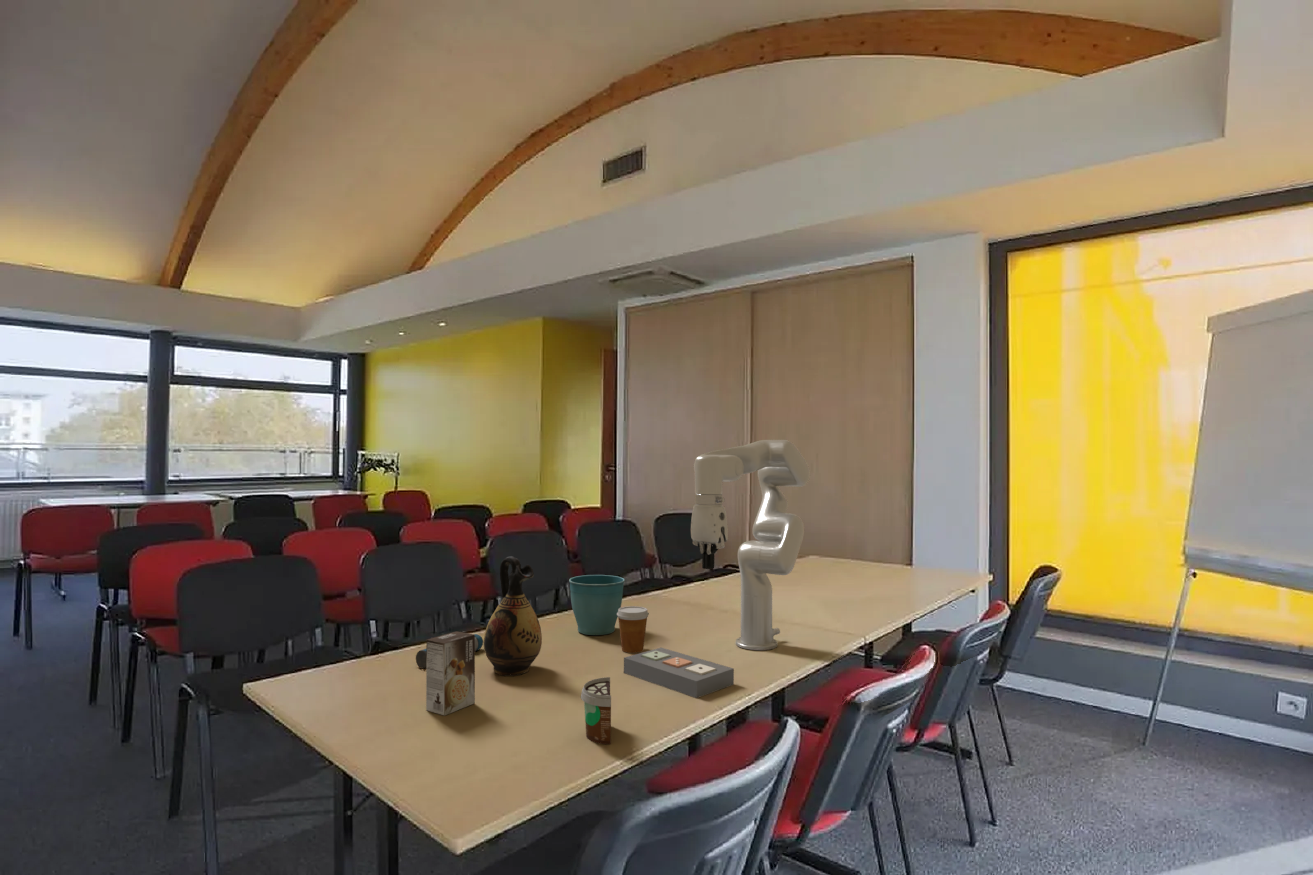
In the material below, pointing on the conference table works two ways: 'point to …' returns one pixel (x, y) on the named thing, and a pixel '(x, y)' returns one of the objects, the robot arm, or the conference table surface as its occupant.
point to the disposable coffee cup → (632, 628)
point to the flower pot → (596, 602)
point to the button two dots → (655, 655)
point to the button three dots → (677, 662)
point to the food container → (597, 710)
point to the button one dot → (700, 669)
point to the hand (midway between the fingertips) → (708, 568)
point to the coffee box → (450, 672)
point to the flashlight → (422, 653)
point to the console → (679, 673)
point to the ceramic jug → (513, 624)
